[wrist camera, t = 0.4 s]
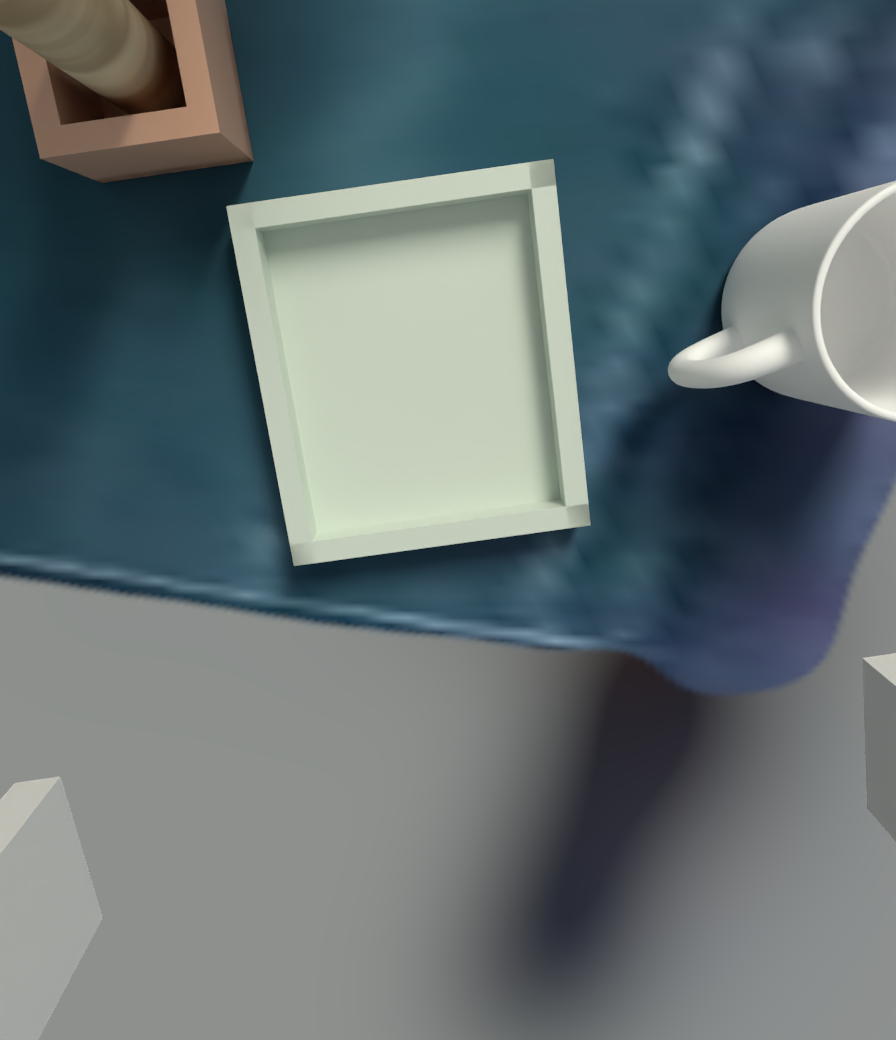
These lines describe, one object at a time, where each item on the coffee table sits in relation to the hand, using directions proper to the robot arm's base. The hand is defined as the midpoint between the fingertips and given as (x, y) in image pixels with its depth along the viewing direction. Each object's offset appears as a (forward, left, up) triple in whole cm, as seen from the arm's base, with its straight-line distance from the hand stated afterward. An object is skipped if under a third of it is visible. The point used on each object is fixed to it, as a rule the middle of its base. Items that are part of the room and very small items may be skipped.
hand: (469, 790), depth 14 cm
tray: (-5, -1, -27) cm, 28 cm away
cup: (-5, +15, -27) cm, 32 cm away
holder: (-18, -10, -27) cm, 34 cm away
